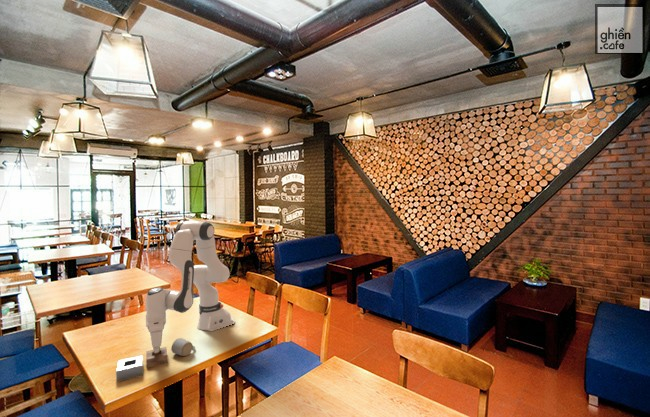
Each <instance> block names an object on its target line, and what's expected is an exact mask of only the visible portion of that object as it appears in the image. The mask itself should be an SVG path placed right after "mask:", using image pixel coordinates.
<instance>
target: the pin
mask: <svg viewBox="0 0 650 417" xmlns="http://www.w3.org/2000/svg"><path fill="white" fill-rule="evenodd" d="M160 348H161V346H159V352H158V353H155V349H154V348H153V347H152V350H153V356H154V355H158V354H160Z"/></svg>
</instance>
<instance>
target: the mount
mask: <svg viewBox="0 0 650 417" xmlns="http://www.w3.org/2000/svg"><path fill="white" fill-rule="evenodd" d="M145 352H146V353H145V354H146V355H145V361H146V364H145V365H146V366H145V368H151V367H155V366H159V365H162V364H163V365H164V364H166V363H168V348H167V346H164V347H160V354H158V355H154V356H153V349H150V350H146V351H145Z"/></svg>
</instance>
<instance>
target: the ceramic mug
mask: <svg viewBox="0 0 650 417" xmlns="http://www.w3.org/2000/svg"><path fill="white" fill-rule="evenodd" d="M195 348H196V346H195V345H193V343H192V342H191V341H189V340H186V339H184V338H182V337H178V338H177V339H175V340H174V341H173V342H172V345H171V348H170V350H171V352H172V353H173V354H175V355H179V356H182V357H187V356H189V355H190V354H191V352H192V351H194V350H195Z"/></svg>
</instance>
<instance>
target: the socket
mask: <svg viewBox="0 0 650 417" xmlns="http://www.w3.org/2000/svg"><path fill="white" fill-rule="evenodd" d="M143 357H144V355H138V356H137V355H136V356H133V357H128V358H124V359H119V360H117V364H116V371H115V372H116V374H115V375H116V383H119V382H122V381H126V380H130V379H134V378H138V377H143V375H144V374H143V372H144V358H143Z"/></svg>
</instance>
